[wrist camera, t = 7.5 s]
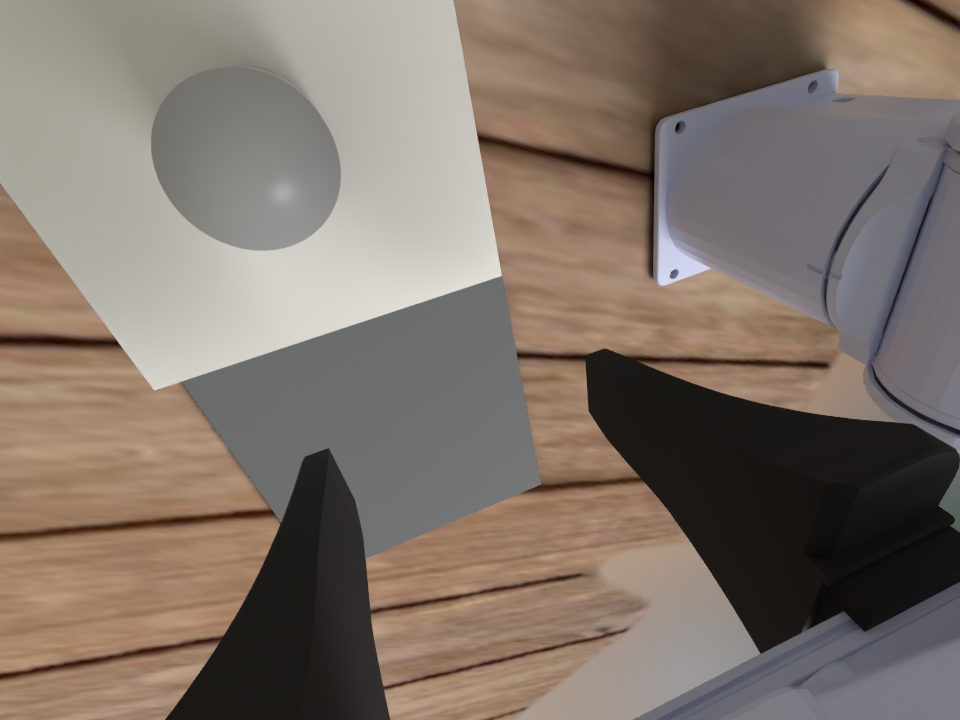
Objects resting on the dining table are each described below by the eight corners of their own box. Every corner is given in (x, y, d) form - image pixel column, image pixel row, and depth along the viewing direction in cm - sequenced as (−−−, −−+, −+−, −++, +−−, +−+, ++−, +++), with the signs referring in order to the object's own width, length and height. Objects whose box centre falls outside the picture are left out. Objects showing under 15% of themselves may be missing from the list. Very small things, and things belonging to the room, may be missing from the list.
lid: (404, -198, 10) (467, -337, 7) (491, 265, 17) (548, 322, 13) (-186, -114, 9) (-530, -241, 5) (161, 372, 15) (121, 473, 11)
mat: (496, 261, 22) (500, 264, 21) (538, 479, 30) (540, 484, 30) (177, 368, 19) (175, 373, 19) (320, 571, 28) (320, 577, 28)
